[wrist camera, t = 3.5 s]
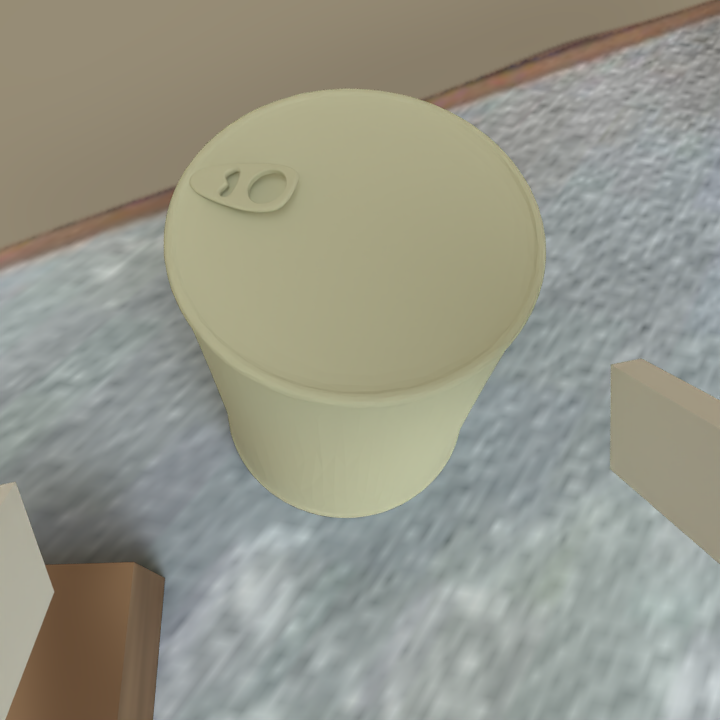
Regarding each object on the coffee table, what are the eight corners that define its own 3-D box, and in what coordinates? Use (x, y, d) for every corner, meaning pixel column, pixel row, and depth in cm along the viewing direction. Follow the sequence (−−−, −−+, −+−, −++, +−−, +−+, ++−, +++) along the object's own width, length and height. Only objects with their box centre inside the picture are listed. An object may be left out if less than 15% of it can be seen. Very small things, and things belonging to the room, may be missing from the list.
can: (277, 276, 28) (245, 34, 17) (483, 337, 27) (585, 123, 17) (190, 474, 24) (80, 322, 14) (427, 552, 24) (511, 457, 13)
